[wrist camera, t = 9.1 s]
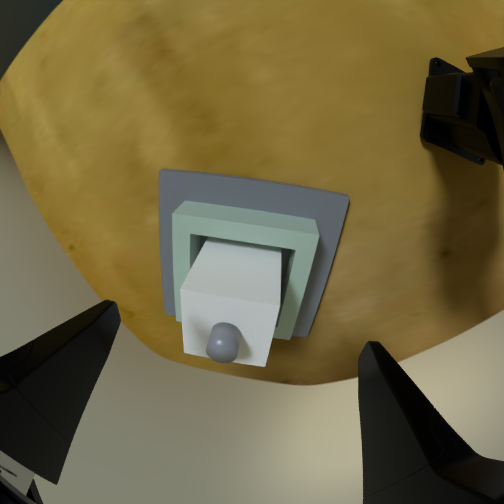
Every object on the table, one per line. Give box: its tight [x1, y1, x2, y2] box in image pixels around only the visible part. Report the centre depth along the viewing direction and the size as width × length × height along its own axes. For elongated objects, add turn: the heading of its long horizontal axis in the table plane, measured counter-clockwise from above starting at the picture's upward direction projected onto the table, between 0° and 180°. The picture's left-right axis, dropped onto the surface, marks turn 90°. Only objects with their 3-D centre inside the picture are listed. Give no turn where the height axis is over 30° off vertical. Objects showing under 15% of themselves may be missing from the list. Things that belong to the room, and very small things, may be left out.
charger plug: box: [180, 236, 281, 367], centre depth 17 cm, size 5×5×8 cm
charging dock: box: [159, 169, 350, 340], centre depth 20 cm, size 13×13×3 cm
